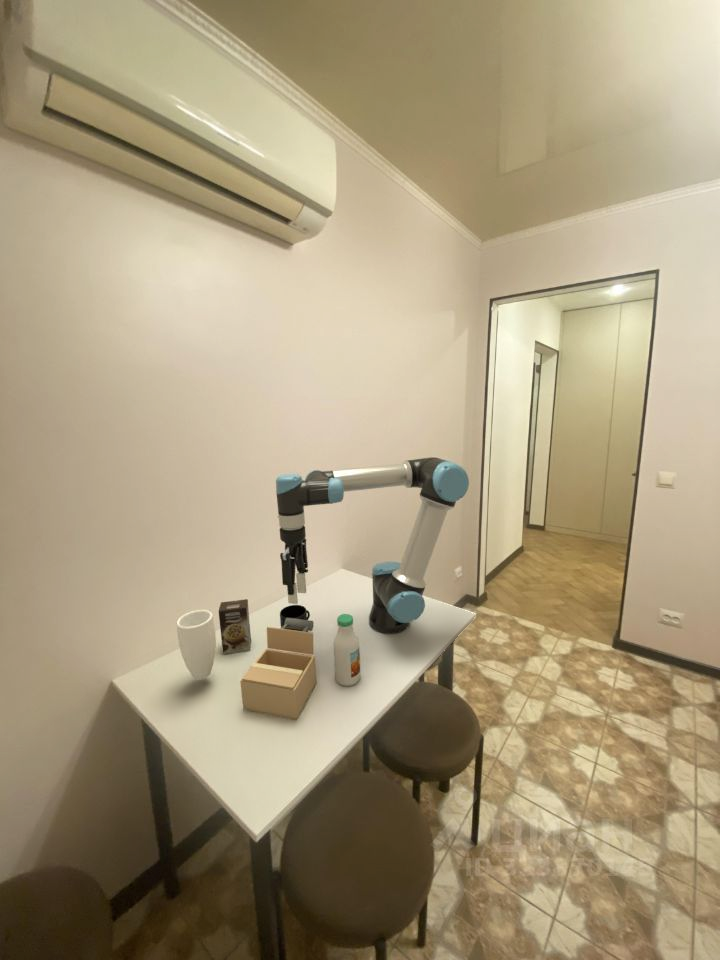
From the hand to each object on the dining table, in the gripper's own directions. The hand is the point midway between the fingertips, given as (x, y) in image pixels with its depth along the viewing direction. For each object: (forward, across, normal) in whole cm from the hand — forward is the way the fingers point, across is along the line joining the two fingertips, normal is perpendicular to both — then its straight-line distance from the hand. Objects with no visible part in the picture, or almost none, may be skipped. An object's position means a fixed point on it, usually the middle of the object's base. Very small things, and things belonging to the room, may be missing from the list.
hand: (297, 597), depth 119 cm
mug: (+23, -15, -8) cm, 29 cm away
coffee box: (+23, -2, -25) cm, 34 cm away
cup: (+23, +15, -26) cm, 38 cm away
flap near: (+10, +7, 0) cm, 12 cm away
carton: (+23, +15, 0) cm, 27 cm away
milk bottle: (+23, +4, +16) cm, 28 cm away
